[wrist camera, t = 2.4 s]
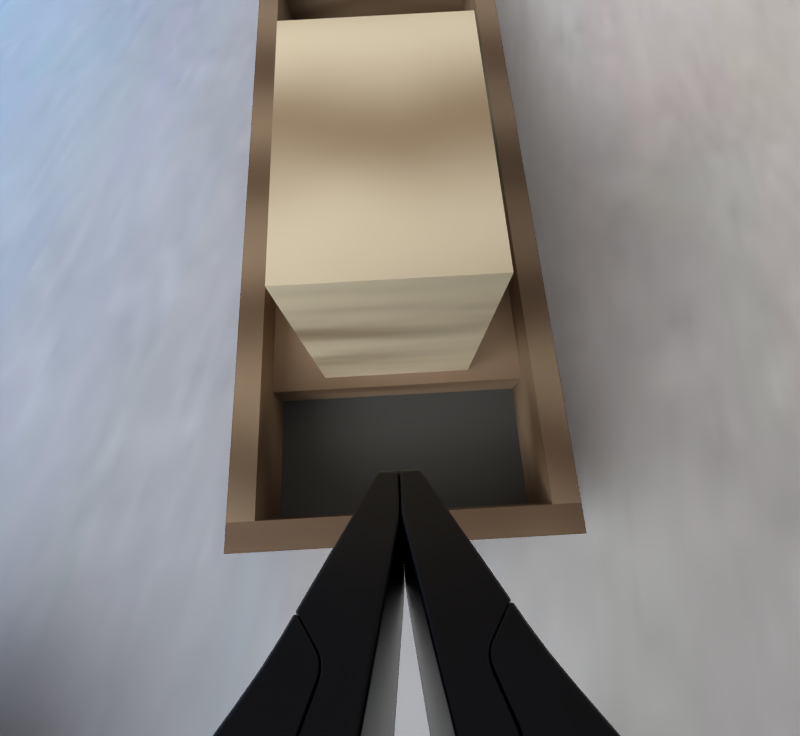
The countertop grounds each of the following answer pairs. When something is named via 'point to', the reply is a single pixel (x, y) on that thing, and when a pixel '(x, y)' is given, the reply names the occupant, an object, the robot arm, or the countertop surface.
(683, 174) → the countertop surface
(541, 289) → the box
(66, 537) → the countertop surface
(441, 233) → the maple block
